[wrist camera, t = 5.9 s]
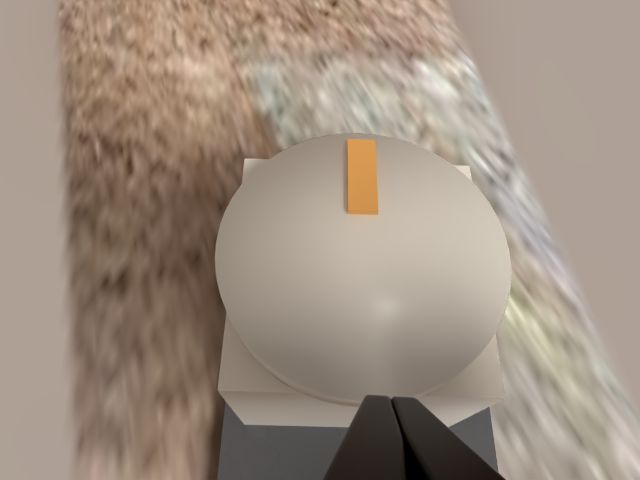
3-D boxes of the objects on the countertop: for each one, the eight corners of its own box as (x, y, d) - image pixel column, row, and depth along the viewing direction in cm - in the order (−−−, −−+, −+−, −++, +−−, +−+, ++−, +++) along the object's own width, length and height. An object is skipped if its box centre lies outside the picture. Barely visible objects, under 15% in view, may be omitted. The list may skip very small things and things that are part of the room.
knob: (452, 439, 17) (541, 402, 11) (234, 433, 17) (192, 393, 10) (432, 246, 21) (490, 133, 14) (253, 240, 20) (230, 124, 14)
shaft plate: (497, 545, 16) (604, 570, 11) (215, 539, 16) (165, 561, 10) (457, 234, 22) (511, 138, 16) (248, 227, 22) (227, 128, 16)
